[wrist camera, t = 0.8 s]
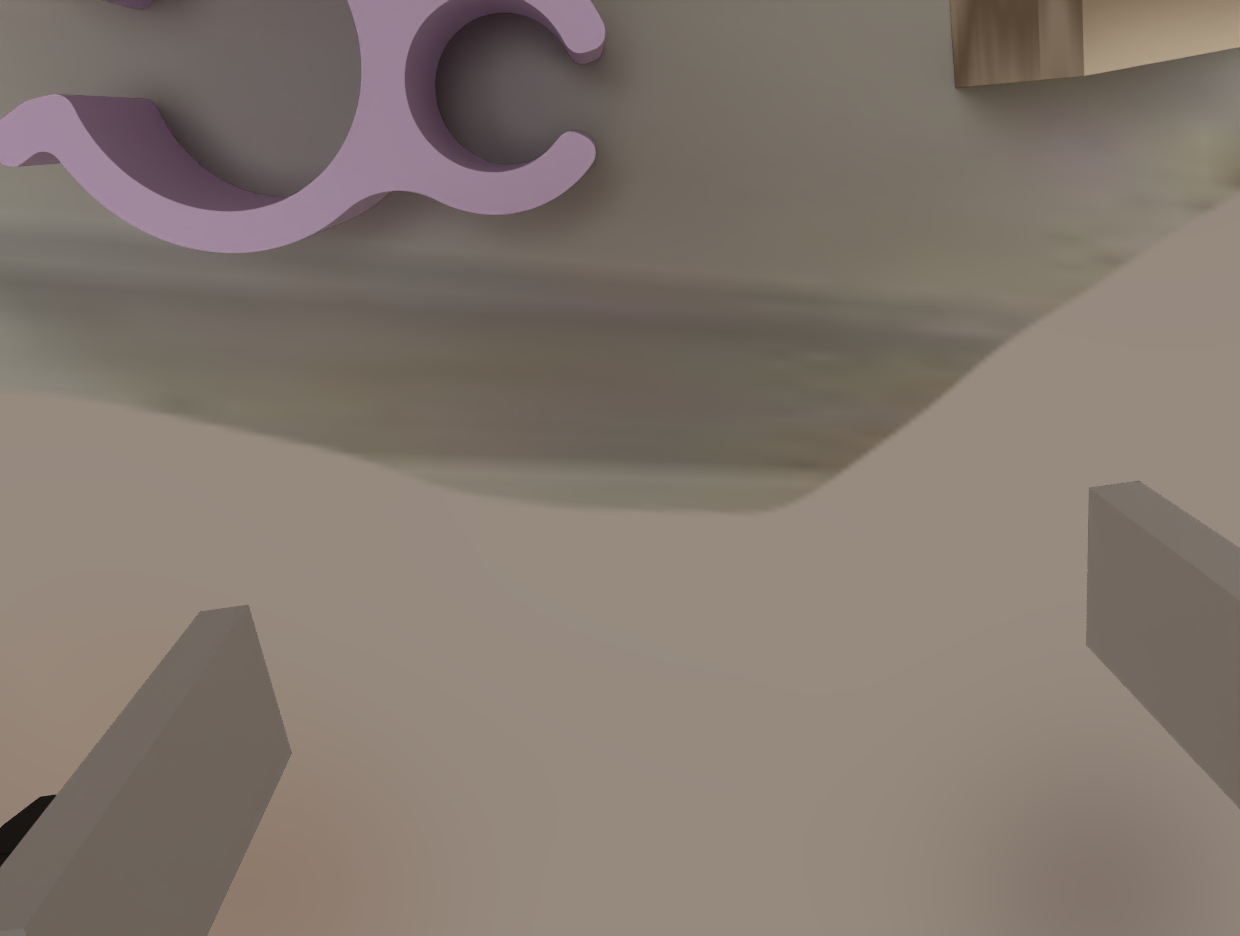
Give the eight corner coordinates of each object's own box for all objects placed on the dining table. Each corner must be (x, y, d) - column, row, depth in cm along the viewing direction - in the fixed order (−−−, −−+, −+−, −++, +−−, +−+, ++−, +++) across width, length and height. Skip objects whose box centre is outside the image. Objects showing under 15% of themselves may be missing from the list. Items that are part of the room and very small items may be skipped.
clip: (613, -78, 38) (617, -119, 31) (586, 259, 42) (585, 284, 35) (64, -137, 37) (-51, -192, 30) (91, 214, 41) (-5, 233, 34)
